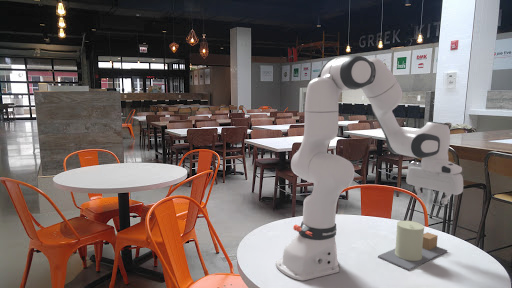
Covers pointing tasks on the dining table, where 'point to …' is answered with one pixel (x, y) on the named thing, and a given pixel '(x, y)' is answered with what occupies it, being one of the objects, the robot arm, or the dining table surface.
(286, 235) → the dining table surface
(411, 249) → the can
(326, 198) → the robot arm
